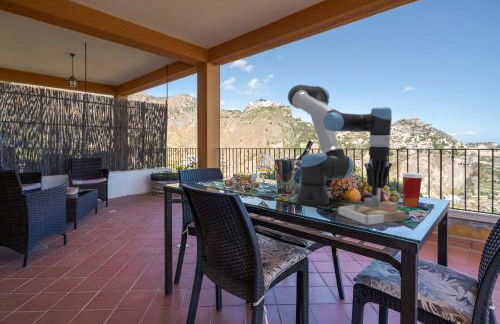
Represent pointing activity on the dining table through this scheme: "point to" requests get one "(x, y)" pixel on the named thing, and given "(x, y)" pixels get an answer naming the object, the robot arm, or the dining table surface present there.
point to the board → (377, 210)
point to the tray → (360, 215)
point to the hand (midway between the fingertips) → (376, 203)
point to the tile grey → (371, 202)
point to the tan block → (389, 206)
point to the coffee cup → (411, 189)
